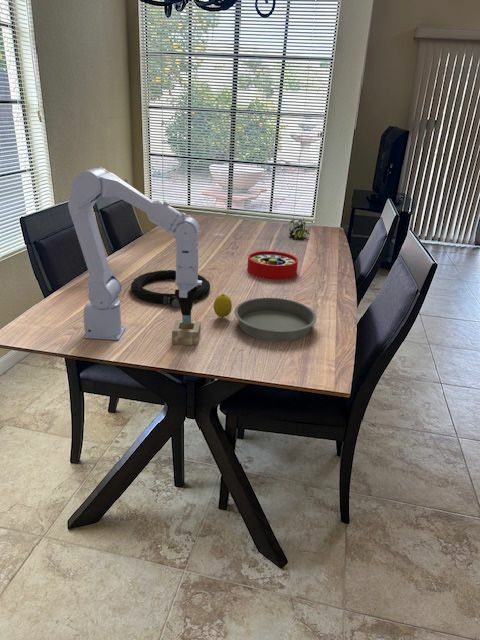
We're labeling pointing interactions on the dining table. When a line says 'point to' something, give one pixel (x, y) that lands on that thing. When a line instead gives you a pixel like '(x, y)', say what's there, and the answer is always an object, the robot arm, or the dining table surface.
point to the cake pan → (275, 318)
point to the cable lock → (164, 297)
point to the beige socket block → (186, 333)
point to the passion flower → (298, 225)
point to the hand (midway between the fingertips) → (186, 312)
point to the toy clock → (272, 265)
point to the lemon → (222, 305)
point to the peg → (186, 319)
